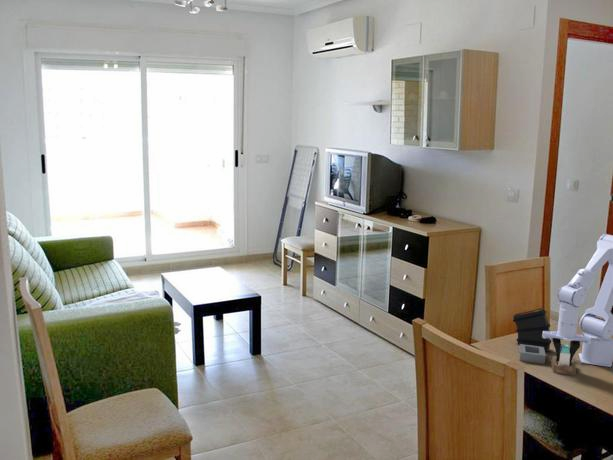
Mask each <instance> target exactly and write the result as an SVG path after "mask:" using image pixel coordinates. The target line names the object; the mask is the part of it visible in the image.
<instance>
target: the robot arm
mask: <svg viewBox="0 0 613 460" xmlns="http://www.w3.org/2000/svg"><path fill="white" fill-rule="evenodd" d="M607 262H608V267H607V270H606V273H605V275H604V277H603V281H602V283H601V285H600V288H599V291H598V293H597V294H598V295H597V297H596V299H595V303H594V306H592V307H590V308H587V309H585V311H584V314H583V315H582V316H581V318H580V320H579V315H580V314H579V312H580V307H581V305H583V304H584V302H585V300H586V296H587V294H588V293H587V291H588V290H589V289H590V287H591V286H592V285H593V283H594V282H595V281H596V274H597V273H598V272H599V271H600V270H601V268H603V266H604V265H605V264H606V263H607ZM556 298H557V300H558V306H559V312H558V323H557V331H555V330H554V331H543V334H542V337H543V338H545V339H546V338H550V340H551V342H552V344H553V346H554V349H555V354H556V355H555V357H556V359H557V361H559V359H560V348H561V344H562V343H561V342H562V341H566V342H569V348H570V362H569V363H571V361H572V359H573V358H574V356H575V354H576V352H577V351H578V350H580V349H579V348H580V346H581V343H582V348H581V352H579V353H578V356H579V360H580V362H581V364H586V365H587V364H588V365H594V366H595V365H596V366H601V367H608V368H612V367H613V338H612V337H613V313H612V308H613V235H612V234H608V233H604V234H602V235H601V236H600V237H599V239H598V240H597V242H596V251H595V252H594V254H593V255H592V257H591V258H590V260H589V262H588V263H587V265H586V266H585V268H580V269H578V271H577V272H576V274H574V276H573V277H572V278H571V280H570V281H568V284H566V285H564V286H561V287H560V288H559V289H558V292H557V295H556ZM578 321H579V323H578ZM578 326H579V329H580V331H581V334H578V333H577V331H578ZM611 366H612V367H611Z"/></svg>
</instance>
